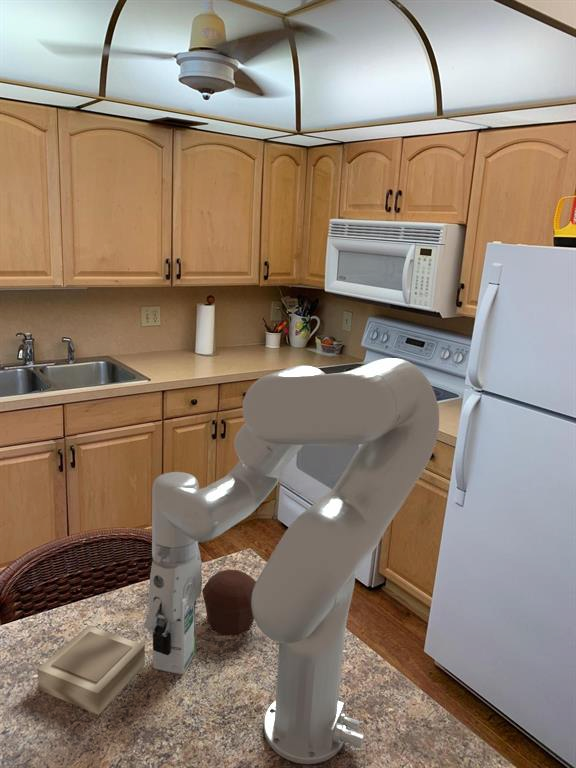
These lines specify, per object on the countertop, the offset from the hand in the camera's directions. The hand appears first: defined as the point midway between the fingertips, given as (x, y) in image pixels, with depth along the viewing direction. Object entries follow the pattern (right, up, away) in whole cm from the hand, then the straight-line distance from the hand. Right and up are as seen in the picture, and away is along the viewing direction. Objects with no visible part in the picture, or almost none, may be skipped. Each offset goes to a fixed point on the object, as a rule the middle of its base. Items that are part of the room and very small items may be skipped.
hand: (174, 637), depth 100 cm
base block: (-13, -5, -4) cm, 14 cm away
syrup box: (0, -5, +1) cm, 5 cm away
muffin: (+9, -3, +12) cm, 15 cm away
